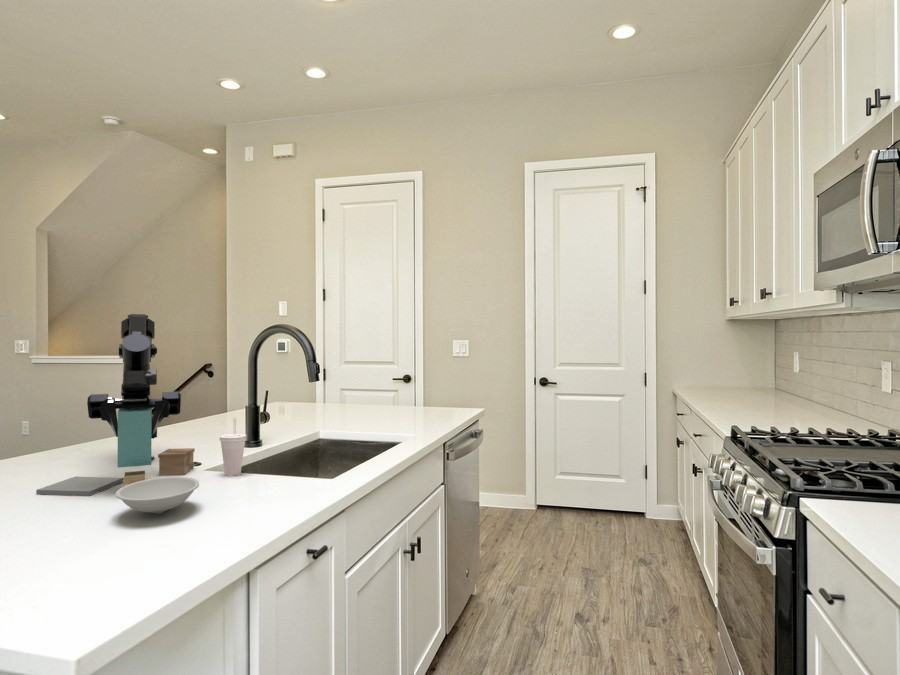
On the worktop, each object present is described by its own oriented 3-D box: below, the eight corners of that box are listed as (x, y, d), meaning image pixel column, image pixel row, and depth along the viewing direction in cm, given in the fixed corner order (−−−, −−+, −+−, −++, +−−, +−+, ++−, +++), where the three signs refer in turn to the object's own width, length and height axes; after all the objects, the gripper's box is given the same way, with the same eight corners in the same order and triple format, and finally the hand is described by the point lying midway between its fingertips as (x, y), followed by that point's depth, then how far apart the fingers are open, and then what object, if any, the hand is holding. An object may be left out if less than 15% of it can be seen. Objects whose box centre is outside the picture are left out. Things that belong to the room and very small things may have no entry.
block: (125, 489, 133) (125, 472, 133) (145, 488, 135) (145, 470, 135) (124, 494, 129) (124, 476, 129) (144, 492, 131) (144, 474, 131)
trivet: (74, 480, 140) (74, 476, 140) (123, 482, 139) (123, 477, 139) (36, 494, 128) (36, 489, 128) (89, 495, 127) (89, 491, 127)
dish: (137, 501, 124) (137, 477, 124) (208, 499, 126) (209, 475, 126) (99, 528, 106) (99, 501, 106) (183, 525, 108) (183, 498, 108)
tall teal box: (119, 461, 133) (119, 408, 133) (151, 459, 136) (151, 407, 136) (117, 467, 127) (117, 412, 127) (151, 464, 130) (151, 410, 130)
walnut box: (168, 468, 153) (168, 448, 153) (194, 468, 154) (194, 448, 154) (157, 475, 146) (158, 454, 146) (185, 475, 147) (185, 454, 147)
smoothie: (251, 472, 150) (252, 417, 149) (232, 478, 144) (233, 420, 144) (232, 470, 152) (233, 415, 152) (213, 475, 146) (213, 419, 146)
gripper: (88, 358, 131) (82, 414, 121) (180, 357, 139) (182, 410, 130) (91, 390, 138) (86, 446, 128) (179, 387, 146) (180, 439, 137)
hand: (134, 434), depth 131 cm, fingers closed on tall teal box, 6 cm apart
